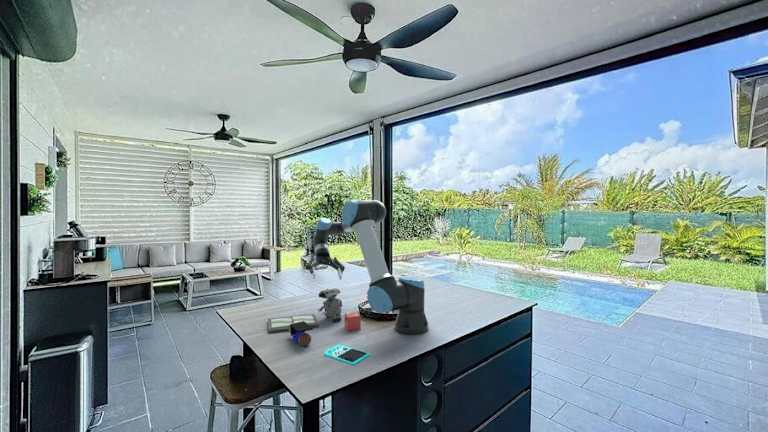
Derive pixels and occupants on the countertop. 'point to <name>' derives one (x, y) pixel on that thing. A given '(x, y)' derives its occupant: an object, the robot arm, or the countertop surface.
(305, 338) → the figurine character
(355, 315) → the red die
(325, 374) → the countertop surface
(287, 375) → the countertop surface
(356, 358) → the handheld game console
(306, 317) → the divided rectangular tray
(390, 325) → the countertop surface
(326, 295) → the figurine
